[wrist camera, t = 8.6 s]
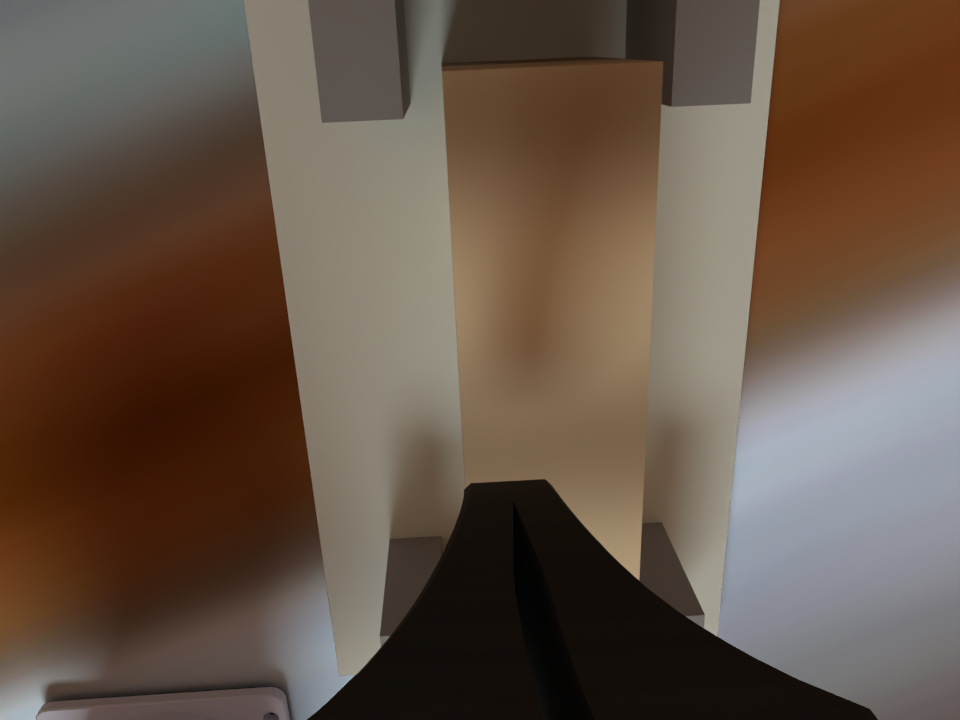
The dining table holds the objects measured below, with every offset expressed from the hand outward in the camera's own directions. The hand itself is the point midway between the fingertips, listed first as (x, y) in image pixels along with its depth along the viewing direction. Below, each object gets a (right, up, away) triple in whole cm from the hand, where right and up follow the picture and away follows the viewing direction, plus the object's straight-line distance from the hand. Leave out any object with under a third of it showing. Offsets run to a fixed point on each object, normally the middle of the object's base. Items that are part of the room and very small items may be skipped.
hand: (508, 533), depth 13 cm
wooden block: (+1, +3, +8) cm, 8 cm away
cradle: (+1, +4, +9) cm, 9 cm away
